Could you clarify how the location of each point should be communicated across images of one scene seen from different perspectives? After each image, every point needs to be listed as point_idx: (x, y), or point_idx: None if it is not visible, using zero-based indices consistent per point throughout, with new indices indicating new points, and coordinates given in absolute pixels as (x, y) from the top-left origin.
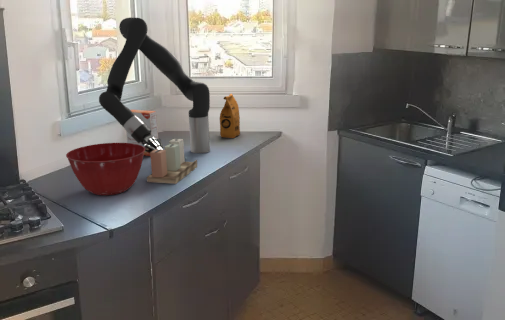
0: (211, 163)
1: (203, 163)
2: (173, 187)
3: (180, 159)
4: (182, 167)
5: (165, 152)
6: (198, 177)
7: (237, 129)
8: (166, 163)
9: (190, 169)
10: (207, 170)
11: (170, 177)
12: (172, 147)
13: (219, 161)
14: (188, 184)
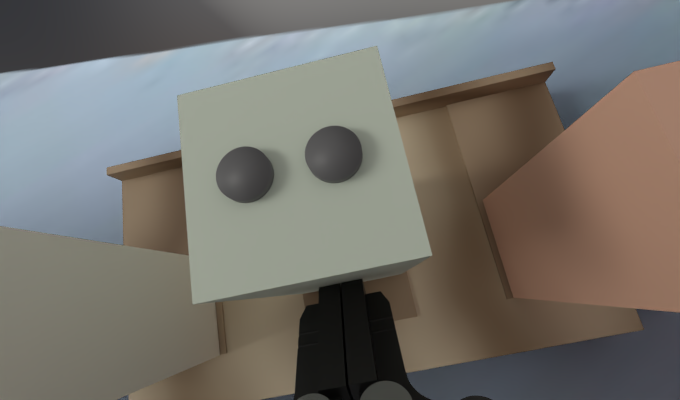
0: (56, 147)
1: (64, 195)
2: (593, 69)
3: (182, 255)
4: None
5: (612, 96)
6: (344, 53)
7: None
8: (521, 168)
9: None
10: (199, 86)
11: (539, 126)
12: (386, 88)
13: (8, 126)
14: (490, 27)
